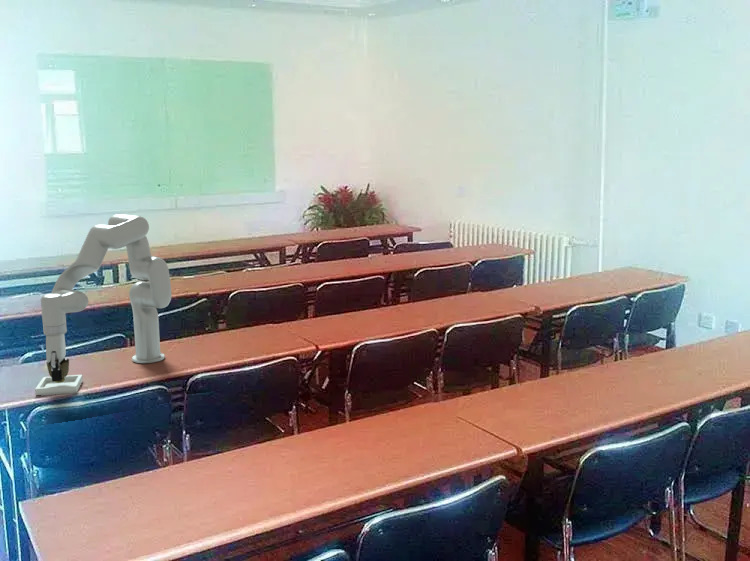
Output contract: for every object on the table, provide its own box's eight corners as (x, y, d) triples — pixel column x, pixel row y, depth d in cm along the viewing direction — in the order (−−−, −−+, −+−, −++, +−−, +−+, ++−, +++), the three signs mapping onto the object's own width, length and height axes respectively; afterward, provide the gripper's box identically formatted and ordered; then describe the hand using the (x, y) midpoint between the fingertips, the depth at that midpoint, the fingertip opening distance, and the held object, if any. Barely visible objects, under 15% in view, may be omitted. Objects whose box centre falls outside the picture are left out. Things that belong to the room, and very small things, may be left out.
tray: (44, 383, 275) (43, 376, 274) (82, 381, 277) (82, 374, 277) (35, 395, 262) (34, 389, 261) (76, 393, 265) (75, 386, 264)
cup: (43, 383, 268) (41, 361, 266) (60, 377, 274) (59, 356, 273) (58, 386, 264) (56, 364, 263) (75, 380, 271) (73, 359, 269)
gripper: (48, 323, 273) (53, 371, 277) (38, 336, 256) (42, 386, 260) (70, 322, 275) (74, 369, 278) (61, 334, 258) (65, 384, 261)
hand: (59, 377), depth 269 cm, fingers closed on cup, 6 cm apart
